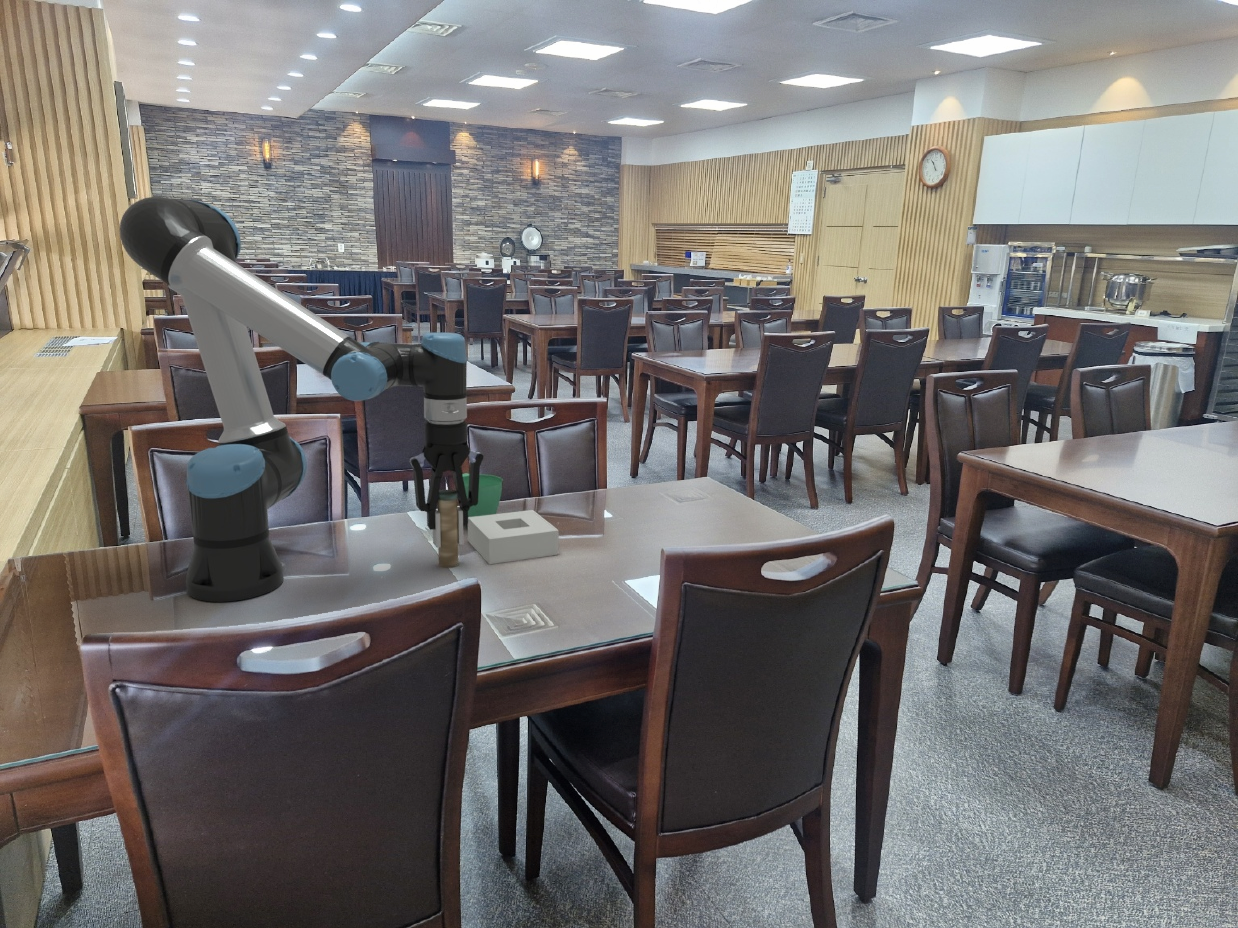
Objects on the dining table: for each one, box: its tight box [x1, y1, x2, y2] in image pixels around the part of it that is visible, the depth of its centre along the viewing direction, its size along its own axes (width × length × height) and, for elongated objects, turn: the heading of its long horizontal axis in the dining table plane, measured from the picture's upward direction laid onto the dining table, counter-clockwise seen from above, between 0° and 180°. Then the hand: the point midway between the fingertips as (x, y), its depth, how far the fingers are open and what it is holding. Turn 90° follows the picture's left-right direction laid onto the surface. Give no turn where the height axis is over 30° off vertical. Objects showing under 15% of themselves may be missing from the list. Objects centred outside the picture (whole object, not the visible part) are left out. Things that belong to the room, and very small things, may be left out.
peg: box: [436, 489, 459, 569], centre depth 150 cm, size 4×4×14 cm
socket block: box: [467, 509, 560, 565], centre depth 161 cm, size 14×14×5 cm
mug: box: [462, 472, 504, 517], centre depth 175 cm, size 15×10×10 cm
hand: (448, 543), depth 151 cm, fingers closed on peg, 3 cm apart
